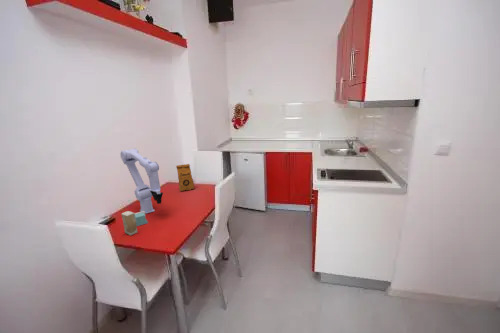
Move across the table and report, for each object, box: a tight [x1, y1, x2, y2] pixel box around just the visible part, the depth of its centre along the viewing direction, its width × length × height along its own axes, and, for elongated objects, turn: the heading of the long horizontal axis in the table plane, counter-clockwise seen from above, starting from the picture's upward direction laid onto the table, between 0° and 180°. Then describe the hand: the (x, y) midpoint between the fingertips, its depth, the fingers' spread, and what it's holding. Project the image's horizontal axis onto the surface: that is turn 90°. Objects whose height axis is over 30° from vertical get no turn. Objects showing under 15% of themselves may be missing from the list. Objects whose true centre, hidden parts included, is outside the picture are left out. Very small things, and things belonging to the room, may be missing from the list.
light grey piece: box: [134, 211, 146, 220], centre depth 150 cm, size 13×12×4 cm
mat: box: [136, 219, 149, 227], centre depth 150 cm, size 7×7×1 cm
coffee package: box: [175, 163, 195, 192], centre depth 203 cm, size 10×12×22 cm
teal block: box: [135, 213, 147, 226], centre depth 149 cm, size 5×5×5 cm
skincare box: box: [121, 210, 138, 236], centre depth 137 cm, size 6×4×12 cm
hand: (157, 201), depth 155 cm, fingers open, 7 cm apart
